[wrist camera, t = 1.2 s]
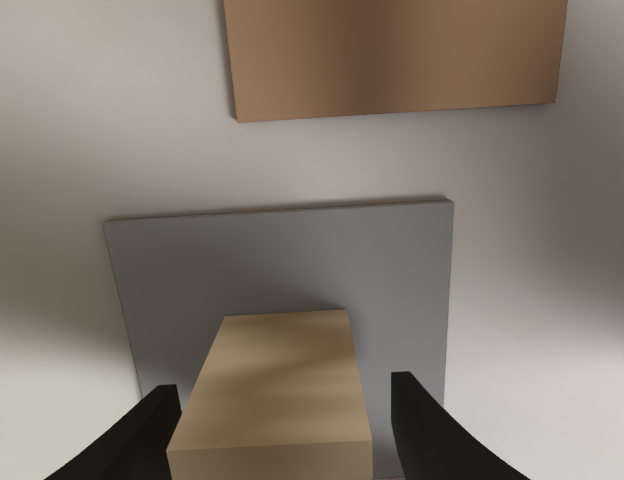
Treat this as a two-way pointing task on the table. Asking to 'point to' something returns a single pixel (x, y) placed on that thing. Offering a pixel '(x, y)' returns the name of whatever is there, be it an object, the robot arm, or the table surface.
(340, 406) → the birch block
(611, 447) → the table surface
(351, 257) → the mat
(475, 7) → the walnut pad
